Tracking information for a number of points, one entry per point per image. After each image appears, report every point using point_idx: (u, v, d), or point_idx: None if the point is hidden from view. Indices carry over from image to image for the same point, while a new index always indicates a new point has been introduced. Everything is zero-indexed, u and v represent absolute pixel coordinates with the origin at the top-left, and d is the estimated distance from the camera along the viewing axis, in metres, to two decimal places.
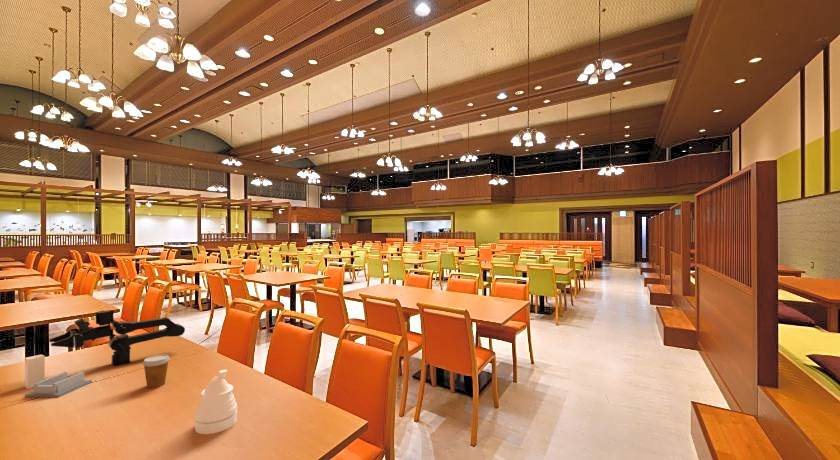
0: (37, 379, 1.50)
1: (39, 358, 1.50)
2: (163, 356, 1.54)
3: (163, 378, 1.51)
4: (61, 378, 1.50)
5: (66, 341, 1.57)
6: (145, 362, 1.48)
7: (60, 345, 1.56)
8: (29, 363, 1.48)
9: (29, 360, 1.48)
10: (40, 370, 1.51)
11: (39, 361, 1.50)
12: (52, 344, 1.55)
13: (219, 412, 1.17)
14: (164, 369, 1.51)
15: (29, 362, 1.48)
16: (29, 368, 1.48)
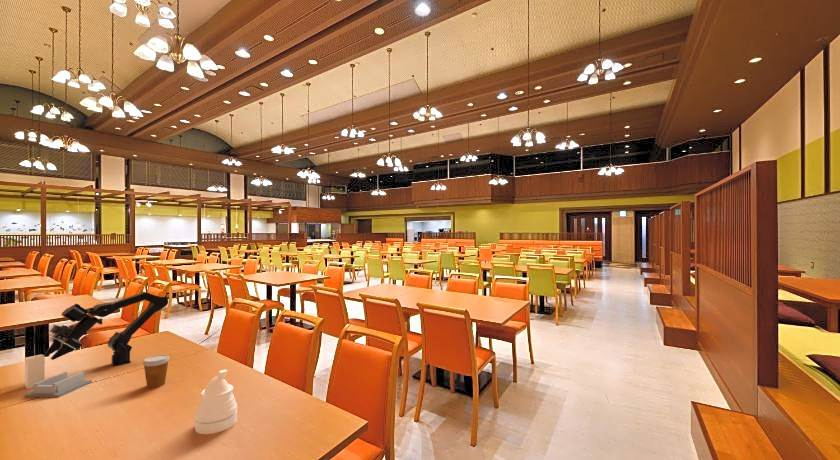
0: (37, 379, 1.50)
1: (39, 358, 1.50)
2: (163, 356, 1.54)
3: (163, 378, 1.51)
4: (61, 378, 1.50)
5: (62, 350, 1.54)
6: (145, 362, 1.48)
7: (61, 355, 1.54)
8: (29, 363, 1.48)
9: (29, 360, 1.48)
10: (40, 370, 1.51)
11: (38, 361, 1.50)
12: (52, 358, 1.52)
13: (219, 413, 1.17)
14: (164, 369, 1.51)
15: (29, 362, 1.48)
16: (29, 368, 1.48)
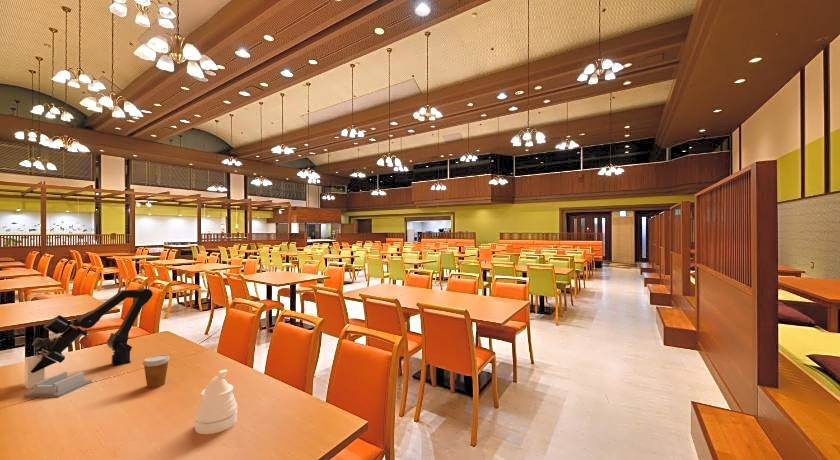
0: (37, 379, 1.50)
1: (39, 358, 1.50)
2: (163, 356, 1.54)
3: (163, 378, 1.51)
4: (61, 378, 1.50)
5: (43, 362, 1.50)
6: (145, 362, 1.48)
7: (41, 368, 1.50)
8: (29, 363, 1.48)
9: (29, 360, 1.48)
10: (40, 370, 1.51)
11: (38, 361, 1.50)
12: (32, 371, 1.48)
13: (219, 412, 1.17)
14: (164, 369, 1.51)
15: (29, 362, 1.48)
16: (29, 368, 1.48)
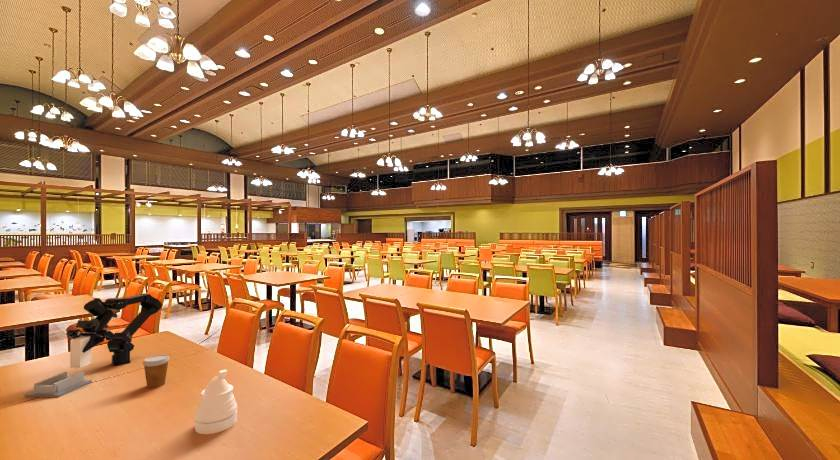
0: (86, 358, 1.56)
1: (87, 338, 1.57)
2: (163, 356, 1.54)
3: (163, 378, 1.51)
4: (61, 378, 1.50)
5: (92, 342, 1.58)
6: (145, 362, 1.48)
7: (91, 347, 1.57)
8: (81, 343, 1.54)
9: (81, 340, 1.54)
10: None
11: (87, 341, 1.57)
12: (84, 351, 1.55)
13: (219, 412, 1.17)
14: (164, 369, 1.51)
15: (81, 342, 1.54)
16: (81, 348, 1.54)
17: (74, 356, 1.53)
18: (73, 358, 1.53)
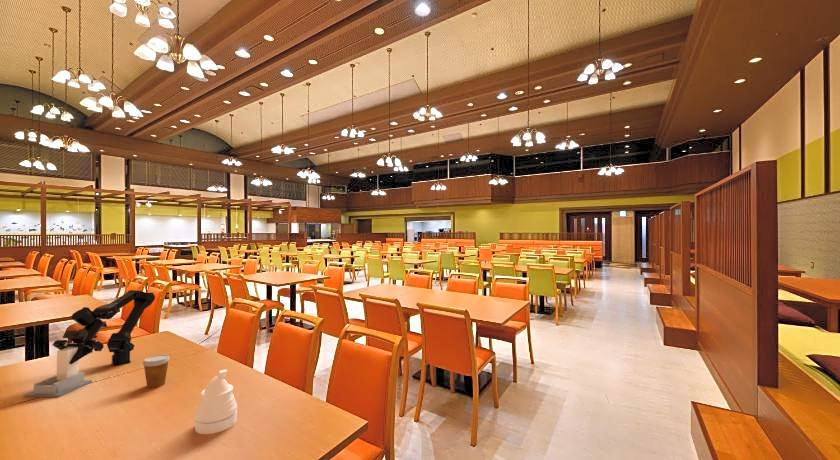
0: (74, 370, 1.50)
1: (74, 349, 1.51)
2: (163, 356, 1.54)
3: (163, 378, 1.51)
4: None
5: (80, 353, 1.52)
6: (145, 362, 1.48)
7: (78, 358, 1.51)
8: (68, 354, 1.48)
9: (68, 351, 1.48)
10: (76, 361, 1.51)
11: (74, 352, 1.51)
12: (71, 362, 1.49)
13: (219, 412, 1.17)
14: (164, 369, 1.51)
15: (68, 353, 1.48)
16: (68, 359, 1.48)
17: (61, 368, 1.47)
18: (59, 370, 1.47)
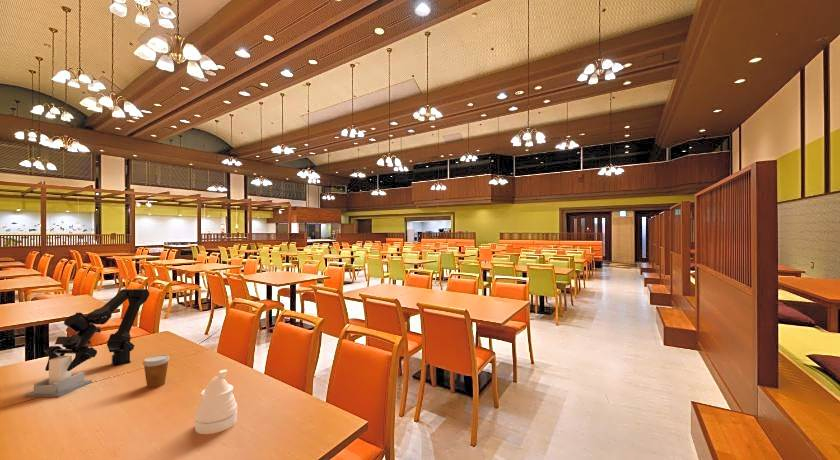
0: None
1: (67, 358, 1.48)
2: (163, 356, 1.54)
3: (163, 378, 1.51)
4: None
5: (78, 359, 1.49)
6: (145, 362, 1.48)
7: (76, 365, 1.48)
8: (60, 363, 1.45)
9: (60, 360, 1.45)
10: None
11: (67, 361, 1.48)
12: (69, 369, 1.46)
13: (219, 413, 1.17)
14: (164, 369, 1.51)
15: (60, 362, 1.45)
16: (60, 368, 1.45)
17: (53, 377, 1.44)
18: (52, 379, 1.44)
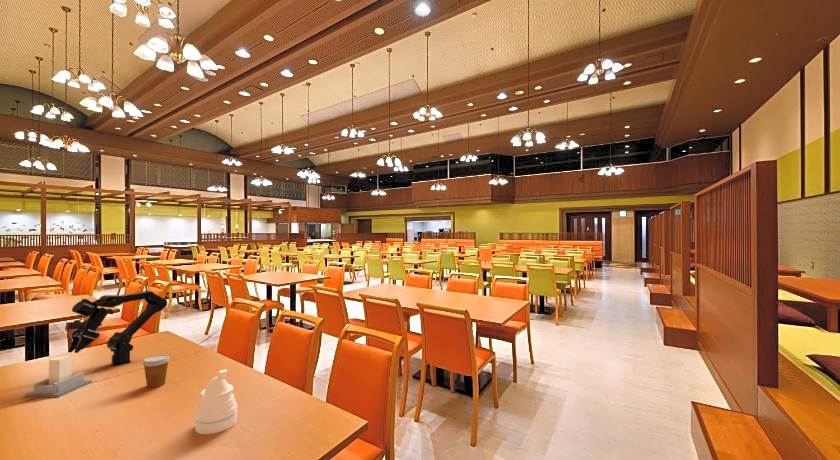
0: None
1: (67, 358, 1.48)
2: (163, 356, 1.54)
3: (163, 378, 1.51)
4: None
5: (83, 342, 1.57)
6: (145, 362, 1.48)
7: (83, 347, 1.57)
8: (60, 363, 1.45)
9: (60, 360, 1.45)
10: (68, 370, 1.48)
11: (67, 361, 1.48)
12: (76, 351, 1.55)
13: (219, 413, 1.17)
14: (164, 369, 1.51)
15: (60, 362, 1.45)
16: (60, 368, 1.45)
17: (53, 377, 1.44)
18: (52, 379, 1.44)
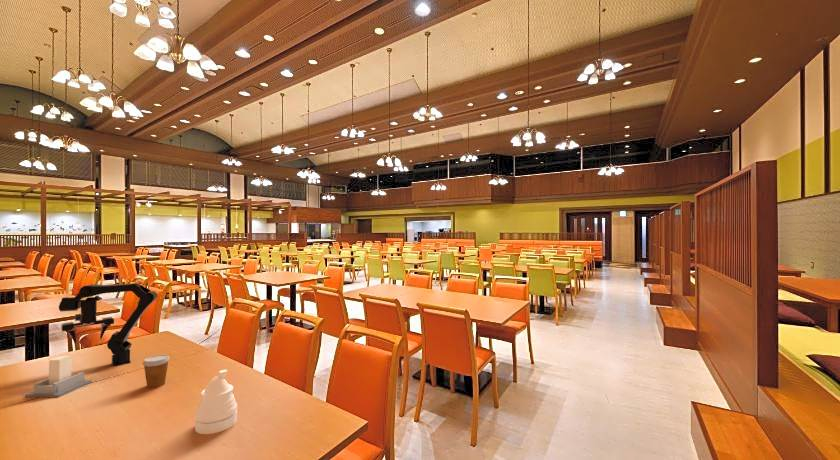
0: None
1: (67, 358, 1.48)
2: (163, 356, 1.54)
3: (163, 378, 1.51)
4: None
5: None
6: (145, 362, 1.48)
7: None
8: (60, 363, 1.45)
9: (60, 360, 1.45)
10: (68, 370, 1.48)
11: (67, 361, 1.48)
12: (74, 342, 1.68)
13: (219, 412, 1.17)
14: (164, 369, 1.51)
15: (60, 362, 1.45)
16: (60, 368, 1.45)
17: (53, 377, 1.44)
18: (52, 379, 1.44)
